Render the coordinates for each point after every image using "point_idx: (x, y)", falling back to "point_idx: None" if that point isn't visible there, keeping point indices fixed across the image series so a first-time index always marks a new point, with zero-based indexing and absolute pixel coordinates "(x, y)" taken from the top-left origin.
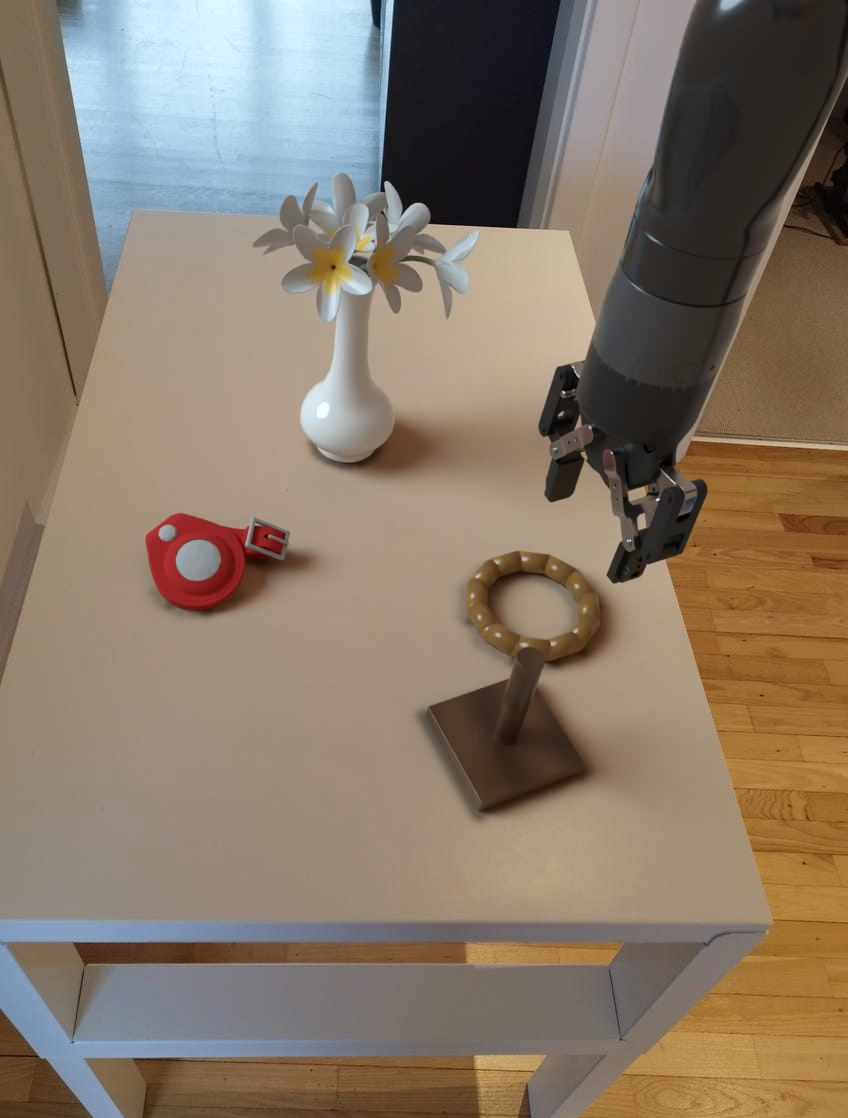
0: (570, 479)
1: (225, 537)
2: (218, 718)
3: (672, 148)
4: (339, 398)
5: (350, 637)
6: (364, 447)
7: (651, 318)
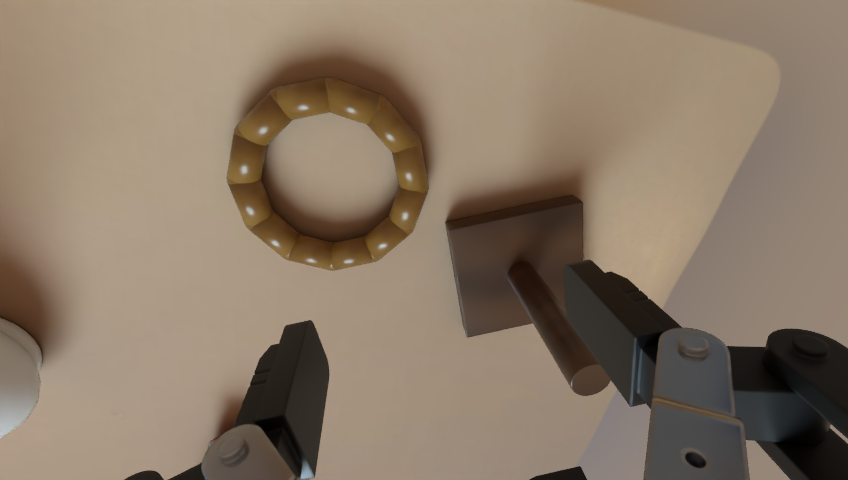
0: (307, 379)
1: None
2: (424, 465)
3: None
4: None
5: (351, 374)
6: (23, 371)
7: None
